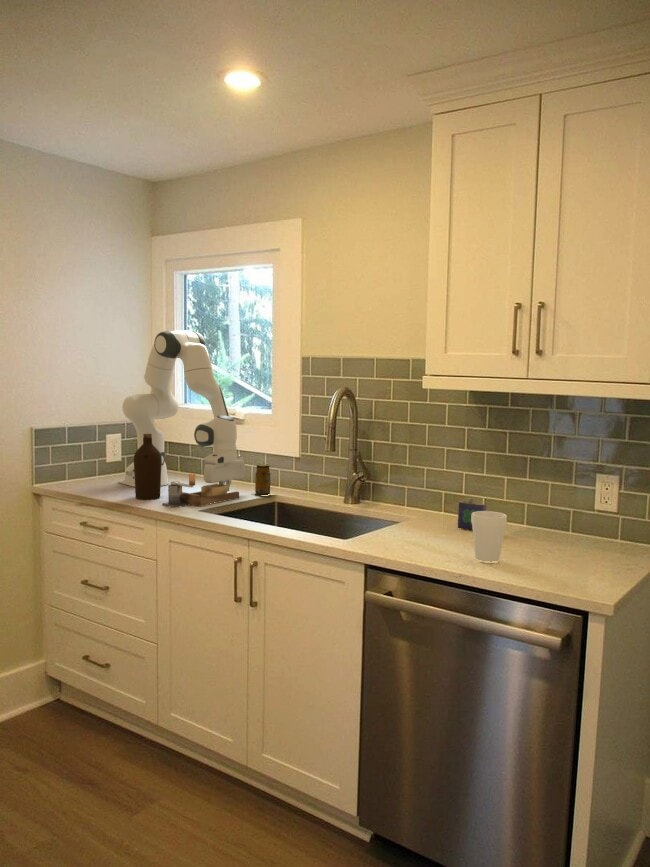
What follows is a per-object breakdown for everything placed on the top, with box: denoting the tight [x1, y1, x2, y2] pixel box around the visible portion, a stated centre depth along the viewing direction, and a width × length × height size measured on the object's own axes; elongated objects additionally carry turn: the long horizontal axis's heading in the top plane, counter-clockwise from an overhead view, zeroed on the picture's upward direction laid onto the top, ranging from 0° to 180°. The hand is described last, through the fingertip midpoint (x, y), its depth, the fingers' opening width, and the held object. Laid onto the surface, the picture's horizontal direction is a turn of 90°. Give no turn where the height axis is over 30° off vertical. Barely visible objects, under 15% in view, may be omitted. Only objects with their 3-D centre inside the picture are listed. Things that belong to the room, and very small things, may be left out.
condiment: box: [250, 463, 271, 496], centre depth 293 cm, size 7×8×12 cm
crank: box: [170, 473, 196, 488], centre depth 266 cm, size 12×3×5 cm, turn 53°
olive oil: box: [133, 434, 162, 501], centre depth 282 cm, size 11×11×25 cm
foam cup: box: [471, 510, 508, 562], centre depth 200 cm, size 10×9×13 cm
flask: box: [457, 497, 487, 531], centre depth 237 cm, size 9×3×11 cm, turn 59°
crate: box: [200, 483, 228, 498], centre depth 282 cm, size 6×8×5 cm
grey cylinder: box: [162, 484, 189, 508], centre depth 269 cm, size 7×7×8 cm
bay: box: [182, 490, 240, 507], centre depth 280 cm, size 12×22×4 cm, turn 143°
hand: (225, 491), depth 287 cm, fingers closed
